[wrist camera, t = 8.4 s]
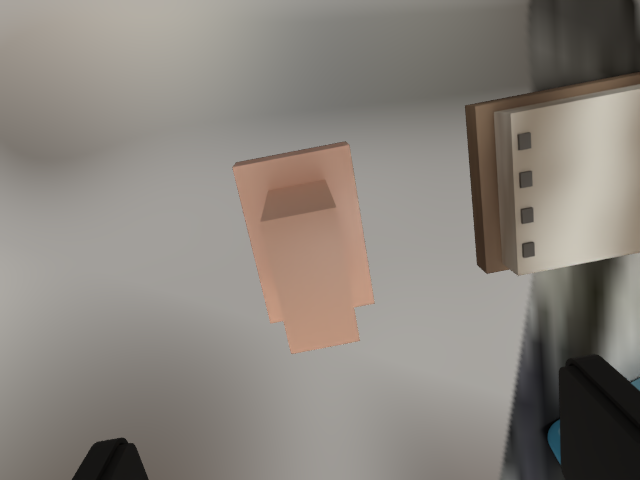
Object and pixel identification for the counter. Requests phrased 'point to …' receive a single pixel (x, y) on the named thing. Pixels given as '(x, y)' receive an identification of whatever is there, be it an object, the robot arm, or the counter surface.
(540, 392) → the counter surface
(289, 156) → the stub
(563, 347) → the counter surface
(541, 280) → the counter surface
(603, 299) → the counter surface
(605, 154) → the ticket pad
